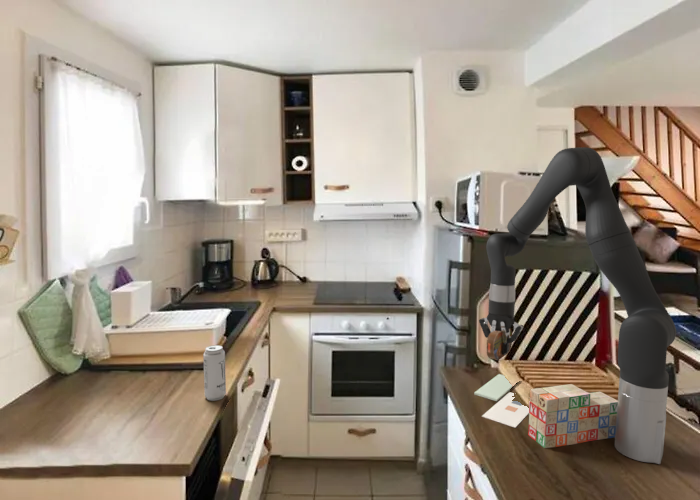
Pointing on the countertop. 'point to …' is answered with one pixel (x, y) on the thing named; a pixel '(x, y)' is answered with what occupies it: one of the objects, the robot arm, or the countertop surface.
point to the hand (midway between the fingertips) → (499, 352)
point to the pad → (494, 388)
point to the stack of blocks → (570, 416)
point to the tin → (496, 345)
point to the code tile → (507, 411)
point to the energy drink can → (214, 372)
